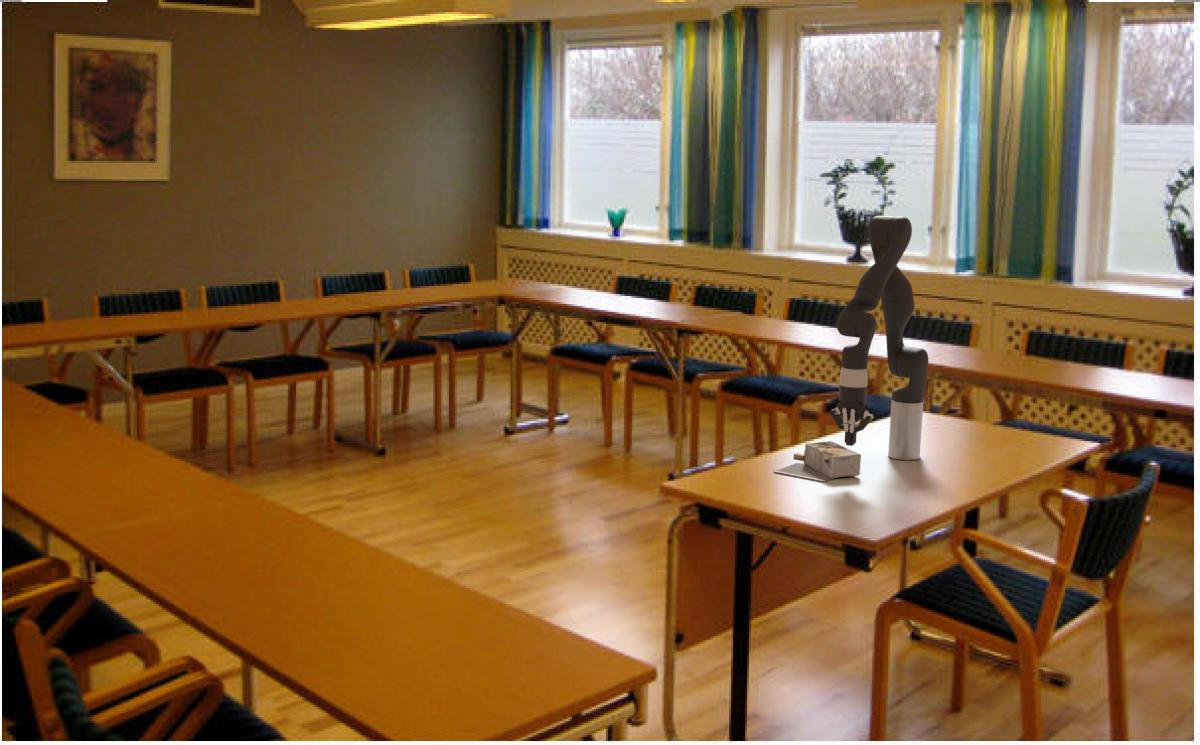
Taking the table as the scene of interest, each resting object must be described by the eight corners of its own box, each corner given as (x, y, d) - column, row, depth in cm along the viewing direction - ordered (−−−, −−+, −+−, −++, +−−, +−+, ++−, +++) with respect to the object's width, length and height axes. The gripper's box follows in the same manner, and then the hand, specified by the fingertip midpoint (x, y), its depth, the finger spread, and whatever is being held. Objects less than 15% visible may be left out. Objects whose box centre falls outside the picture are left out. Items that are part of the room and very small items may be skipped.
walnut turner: (789, 459, 399) (790, 455, 399) (800, 455, 404) (800, 451, 404) (844, 470, 388) (845, 465, 388) (854, 466, 393) (854, 462, 393)
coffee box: (860, 476, 380) (831, 462, 394) (861, 454, 378) (832, 440, 393) (831, 478, 377) (803, 464, 391) (832, 456, 375) (804, 442, 390)
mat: (798, 463, 394) (798, 462, 394) (847, 473, 384) (847, 471, 384) (773, 472, 383) (773, 471, 383) (824, 482, 373) (824, 481, 373)
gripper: (881, 385, 371) (877, 446, 374) (838, 378, 379) (834, 439, 382) (869, 388, 365) (865, 451, 368) (825, 382, 373) (822, 443, 376)
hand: (850, 445), depth 375 cm, fingers closed
